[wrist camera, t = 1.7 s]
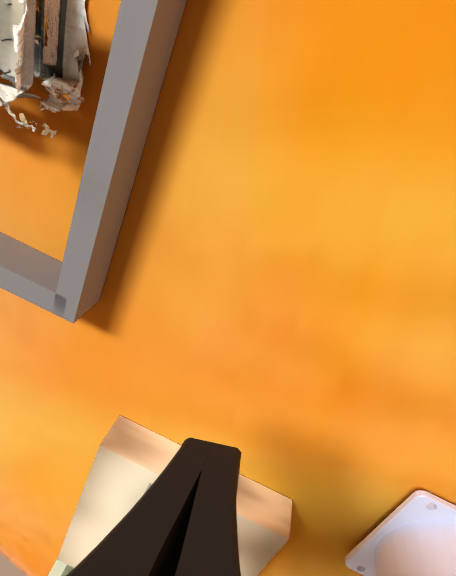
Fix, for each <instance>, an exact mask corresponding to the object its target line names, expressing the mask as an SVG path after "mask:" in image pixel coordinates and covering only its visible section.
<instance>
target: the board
mask: <svg viewBox="0 0 456 576" xmlns="http://www.w3.org/2000/svg"><path fill="white" fill-rule="evenodd" d="M180 447H181V445H179V444H177V443H175V442H173V441H171V440H169V439H167V438H165V437H163V436H161V435H159V434H157V433H155V432H153V431H151V430H149V429H147V428H145V427H143V426H141V425H139V424H137V423H135V422H133V421H131V420H129V419H127V418H125V417H122V416H120V415H119V417H118V418H117V420H116V421H115V423H114V425H113V426H112V428H111V429H110V431H109V432H108V434H107V435H106V437H105V438H104V440H103V441H102V443H101V444H100V446H99V449H98V451H97V454H96V457H95V459H94V462H93V465H92V468H91V470H90V473H89V476H88V478H87V481H86V484H85V486H84V489H83V492H82V494H81V497H80V500H79V502H78V505H77V508H76V510H75V513H74V516H73V518H72V521H71V524H70V526H69V529H68V532H67V535H66V537H65V540H64V543H63V545H62V548H61V551H60V553H59V556H58V559H57V560H59V561H61V562H63V563H65V564H67V565H69V566H71V567H73V568H75V567H76V566H77V565H78V564H79V563H80V562H81V561H82V560H83V559H84V558H85V557H86V556H87V555H88V554H89V553H90V552H91V551H92V550H93V549H94V548H95V547H96V546H97V545H98V544H99V543H100V542H101V541H102V540H103V539H104V538H105V537H106V536H107V535H108V533H109V532H110V531H111V530H112V529H113V528H114V527H115V526H116V525H117V524H118V523H119V522H120V521H121V520H122V519H123V517H124V516H125V515H126V514H127V513H128V512H129V511H130V510H131V509H132V507H133V506H134V505H135V504H136V503H137V502H138V500H139V499H140V498H141V497H142V496H143V495H144V493H145V491H146V489H147V487H148V485H149V483H151V484H153V483H154V481H155V480H156V479H157V478H158V476H159V475H160V474H161V473H162V471H163V470H164V469H165V468H166V466H167V465H168V464H169V462H170V461H171V460H172V458H173V457H174V456H175V454H176V453H177V451H178V450H179V449H180ZM236 510H237V533H238V549H239V561H240V571H241V576H257V575H258V574H259V573H260V572H261V570H262V569H263V568H264V567H265V566H266V565H267V564H268V563H269V561H270V560H271V559H272V558H273V557H274V556H275V555H276V554H277V552H278V551H279V550H280V549H281V548H282V547H283V546H284V545H285V544H286V542H287V541H288V540H289V537H290V525H291V512H292V500H291V499H289V498H287V497H285V496H283V495H281V494H279V493H277V492H275V491H273V490H271V489H269V488H267V487H265V486H263V485H261V484H259V483H257V482H255V481H253V480H251V479H249V478H246V477H244V476H242V475H240V474H239V479H238V488H237V497H236Z"/></svg>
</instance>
